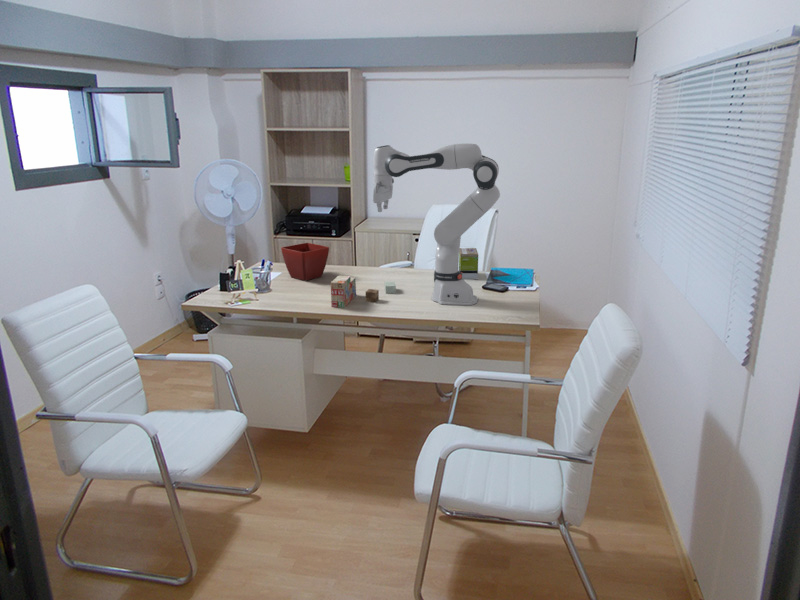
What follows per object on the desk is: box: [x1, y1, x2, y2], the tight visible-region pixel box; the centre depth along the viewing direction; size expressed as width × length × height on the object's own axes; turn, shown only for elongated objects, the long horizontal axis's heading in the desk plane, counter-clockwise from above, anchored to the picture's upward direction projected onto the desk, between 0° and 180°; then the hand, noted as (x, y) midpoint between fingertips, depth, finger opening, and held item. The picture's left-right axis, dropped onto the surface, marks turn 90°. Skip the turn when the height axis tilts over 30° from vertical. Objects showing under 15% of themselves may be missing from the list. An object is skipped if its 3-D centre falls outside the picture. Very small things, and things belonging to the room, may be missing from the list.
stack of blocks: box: [330, 275, 357, 309], centre depth 283 cm, size 21×6×12 cm, turn 169°
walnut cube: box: [365, 288, 380, 303], centre depth 285 cm, size 5×5×5 cm
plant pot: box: [280, 242, 330, 281], centre depth 324 cm, size 19×19×17 cm
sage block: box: [384, 281, 397, 294], centre depth 301 cm, size 5×8×4 cm, turn 6°
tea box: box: [458, 247, 479, 280], centre depth 328 cm, size 15×10×15 cm, turn 178°
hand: (382, 210), depth 281 cm, fingers open, 8 cm apart
